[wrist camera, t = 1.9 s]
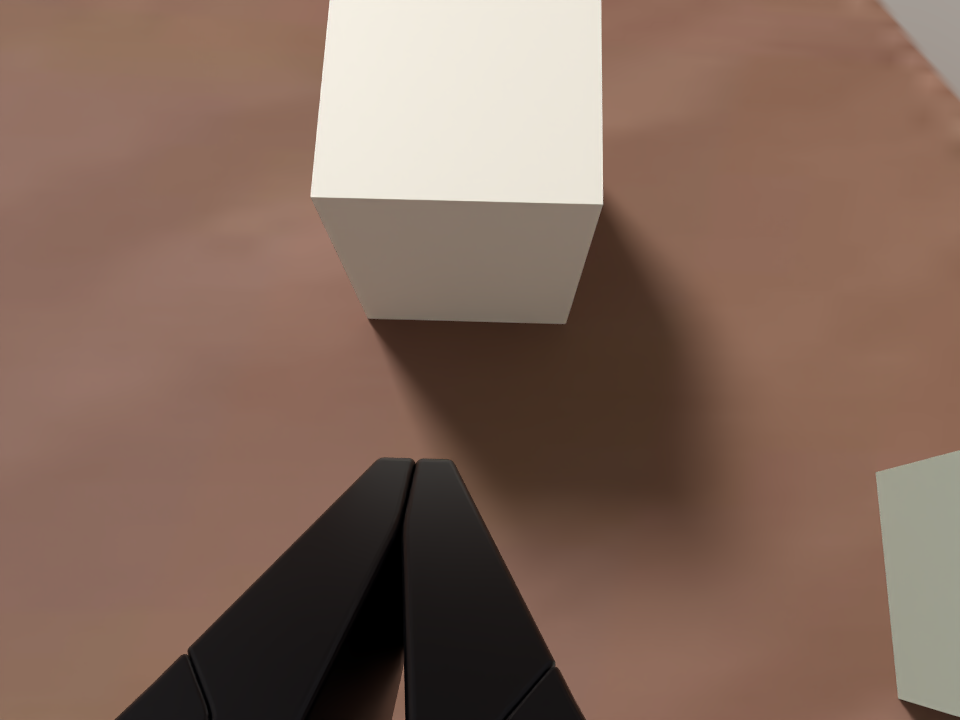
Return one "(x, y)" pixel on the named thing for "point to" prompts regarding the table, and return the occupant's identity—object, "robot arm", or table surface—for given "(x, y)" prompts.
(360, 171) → the plain cream block
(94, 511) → the table surface
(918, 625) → the sage marked block
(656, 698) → the table surface
